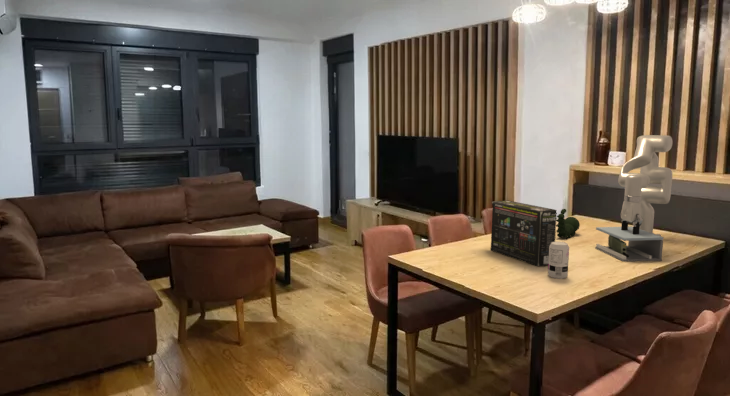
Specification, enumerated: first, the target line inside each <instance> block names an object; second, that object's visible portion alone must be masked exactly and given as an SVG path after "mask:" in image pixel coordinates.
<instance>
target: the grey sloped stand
mask: <svg viewBox="0 0 730 396" xmlns="http://www.w3.org/2000/svg"><path fill="white" fill-rule="evenodd" d="M627 242H628V245H627V244H626V254H628V255H629V257H626V256H624V255H622V254H620V253H617V252H616V251H614V250H613V249H612V248H610V247H609V246H608V245H606V246H604V245H601V244H600V243H596V246H595V247H594V249H595V250H598V251H600V252H602V253H604V254H606V255H608V256H611V257H613V258H615V259H617V260H618V261H621V262H623V263H624V262H655V261H656V262H657V261H663V260H662V257H663V250H664V249H663V247H664V246H663V245H664V239H663V240H635V241H627Z"/></svg>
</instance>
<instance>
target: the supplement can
mask: <svg viewBox="0 0 730 396" xmlns="http://www.w3.org/2000/svg"><path fill="white" fill-rule="evenodd" d="M569 257H570V246H569V243H567V242H564V241H555V242H551V244H550V246H549V262H548V265H547V266H548V267H547V276H548V277H551V278H552V279H560V280H561V279H562V280H563V279H566V278H568V275H569V274H568V273H569V260H570V258H569Z"/></svg>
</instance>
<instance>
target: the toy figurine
mask: <svg viewBox="0 0 730 396" xmlns="http://www.w3.org/2000/svg"><path fill="white" fill-rule="evenodd" d="M566 213H567V209H566V208H562V209H561V210H560V213H559V214H558V215H557V219H556V228H557V229H556V230H555V231H556V237H558V238H562V237H563V238H564V239H565V238H567V239H570V238H572V237H574V236H575V235H576V232H577V231H578V230H579V229H580V225H581V224H580V222H579V220H578V219H577V218H576V217H574V216H569V217H568V216H567V217H566V218H565V214H566Z"/></svg>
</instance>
